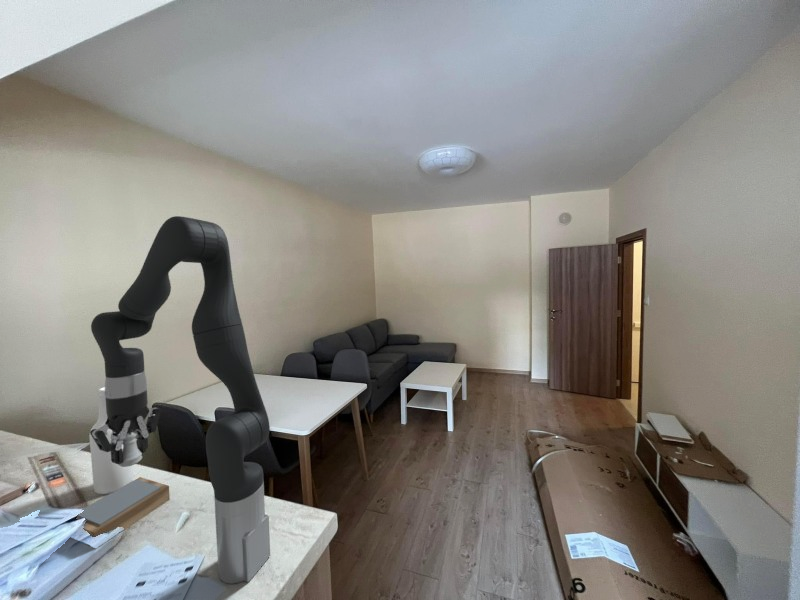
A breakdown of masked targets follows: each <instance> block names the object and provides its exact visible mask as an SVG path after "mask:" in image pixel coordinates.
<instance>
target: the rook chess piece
mask: <svg viewBox="0 0 800 600" xmlns="http://www.w3.org/2000/svg"><path fill="white" fill-rule="evenodd" d="M137 434H138V432H136V430H132V431H130V432H128V433H127V434H126V438H125V439H124V440H123V463H121V464H119V465H120V466H121V467H128V466H132V465H134V466H135V465H136V464H138V463H139V462H141V460H142V459H143V455H142V454H143V453H141V451H140V450H139V449H138V448H137V438H138V437H137Z"/></svg>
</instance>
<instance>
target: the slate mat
mask: <svg viewBox="0 0 800 600" xmlns="http://www.w3.org/2000/svg"><path fill="white" fill-rule="evenodd" d="M137 479H138V478H136V479H134V480H135V481H134V480H132V481H133V482H131V483H129V484H127V485H126V486H124V487H122V488H120V489H118V490H117V491H115V492H113V493H109V494H106V495H105V496H106V497H105V496H104V498H103V497H101V498H100V499H98V500H96V501H97V502H96V501H94V502H95V503H94V502H93V503H91V504H89V505H87V506H88V507H87V506H85V507H86V508H85V507H83V508H84V509H83V508H82V509H81V510H84V511H83V512H82V513H80V514H78V515H77V517H79V518H85V519H87V521H88V522H91V523H93V524H96V525H98V526H101V525H103V524H105V523H106V522H108V521H109V520H111V519H113V518H114V517H116V516H117V515H119V514H121V513H122V512H124V511H125V510H127V509H129V508H130V507H132V506H134V505H135V504H137V503H138V502H140V501H142V500H143V499H145V498H146V497H148V496H150V495H151V494H153V493H154V492H156V491H158V490H159V489H161V487H159V486H156V485H153V484H149V483H146V482H143V481H140V480H137Z"/></svg>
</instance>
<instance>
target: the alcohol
mask: <svg viewBox="0 0 800 600" xmlns="http://www.w3.org/2000/svg"><path fill="white" fill-rule="evenodd" d="M97 392H98V394H97V395H98V418H97V421H96V422H95V423H94V424H93V425H92V427H91V428H90V431H89V435H88V436H89V437H88V438H89V447H90V459H91V469H92V482H93V483H92V484H93V491H94V492H95V493H96V494H98V495H109V494H111V493H112V492H114V491H116V490H118V489H120V488H121V487H123V486H125V485H127V484H129V483H130V482H132V481H134V480H135V475H136V474H135V464H134V465H132V466H128V467H121V466H120V465H118V464H115V463H113V462H112V461H111V451H110V452H105V451H102V450H100V449H99V448H98V446H97V444H96V443H95V441H94V439H93V437H92V436H91V434H90V432H91V430H93V429H99V428H100V427H102V426H103V425H105V422H106V420H107V413H106V399H105V386H103V387H100V388H99V389H98V390H97ZM111 433H112V430H111V429H108V430H107V435H106V437H107V439H108V441H109V443H110V442H111ZM121 448H122V450H123V444H122V447H121Z"/></svg>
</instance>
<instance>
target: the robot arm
mask: <svg viewBox="0 0 800 600" xmlns="http://www.w3.org/2000/svg"><path fill="white" fill-rule="evenodd" d="M181 262H183V263H195V264H196V263H197V264H200V266H201V267H202V268H201V269H202V273H203V280H204V287H203V292H202V295H201V298H200V301H199V303H198V305H197V307H196V309H195V312H194V315H193V319H192V320H191V333H192V337H193V342H194V346H195V351H196V354H197V357H198V359H199V360H200V362H201V363H202V364H203V366H205V368H206V369H207V370H208V371H210V372H211V373H212V374H213V375H214V376H215V377H216V378H218V380H220V381H221V382H222V383H223V385H224V386H225V387H226V389H227V391H228V392H229V394H230V398H231V401H232V405H233V408H234V411H233V412H231V413H230V414H227V415H226V416H223V417H221V418H220V419H218V420H216V421H214V422H213V423H211V424H210V425H209V426H208V429H207V431H206V435H205V449H206V450H205V451H206V458H207V467H208V476H209V477H208V478H209V480H210V483H211V486H212V488H213V496H214V497H213V498H214V515H215V516H214V517H215V531H216V532H215V534H216V535H215V537H216V538H215V539H216V552H217V554H216V555H217V565H218V566H217V568H218V569H217V570H218V571H217V572H218V577H219V579H220V580H221V581H222V582H223V583H226V584H232V585H233V584H238V583H242V582H246V583H249V582H250V581H251V580H252V579H253V578H254V576H255V575H256V574H257V573H258V572H257V571H260V569H261V568H262V567H263V566H264V565H265V563H266V562H267V561H266V560H269V558H270V557H271V539H270V538H271V537H270V536H271V535H270V517H269V515H268V514H266V511H265V510H266V508H265V507H266V506H265V484H264V483H265V481H264V479H265V478H264V470H263V467H262V465H260V464H259V463H257V462H253V461H245V460H244V459H245V457H246V456H248V455H250V454H251V453H252V452H254V451H255V450H257V449H258V448H259V447H261V446H262V445H264V443H265V442H267V440H268V439H269V436H270V432H271V431H270V420H269V416H268V413H267V410H266V407H265V404H264V401H263V398H262V396H261V392H260V390H259V387H258V383H257V381H256V377H255V374H254V369H253V366H252V363H251V358H250V353H249V349H248V345H247V339H246V334H245V330H244V325H243V322H242V319H241V315H240V311H239V306H238V301H237V296H236V291H235V287H234V280H233V279H234V278H233V271H232V263H231V262H232V261H231V254H230V246H229V241H228V238H227V234H226V233H225V231H224V229H223V228H222V227H221V226H220V225H218V224H217V223H214V222H213V221H212V222H211V221H207V220H202V219H197V218H192V217H187V216H182V215H181V216H178V215H175V216H171V217H168V218H167V219H166V220H165V221H164V222H163V223H162V225H161V227H160V228H159V229H158V231H157V233H156V235H155V238H154V240H153V241H152V244H151V246H150V248H149V250H148V252H147V254H146V258H145V260H144V262H143V265H142V267H141V269H140V271H139V273H138V275H137V277H136V279H135V280H134V281H133V283H132V284H131V285H130V286H129V288H127V290H126V292H125V293H124V294H123V295H122V297H121V298H120V299H119V302H118V304H117V305H118V311H117V310H116V311H106V312H101V313H99V314H97V315H96V316H95V317H94V318H93V319H92V321H91V325H90V330H91V333H92V335H93V338H94V339H95V340H94V341H96V343H97V345H98V347H99V350H100V353H101V355H102V358H103V361H104V373H105V381H104V387H105V399H106V413H107V420H106V422H105V425H103V426H102V427H100V428H99V429H93V430H91V429H90V431H91V432H90V431H89V435H90V434H91V436H92V437H93V439H94V441H95V443H96V444H97V446H98V448H99V449H100V450H102V451H105V452H110V451H111V461H112V462H113V463H115V464H118V465H119V464H121V463H123V450H122V448H121V447H122V444H123V440H124V439H125V438H126V434H127V433H128V432H130V431H133V430H136V432H138V434H137V435H136V438H137V440H136V444H137V448H138V449H139V450H140V451H141V453H142V454H143V453H146V451H147V449H148V448H149V444H148V442H149V440H148V437H149V435H150V434H151V433H155V432H156V430H157V429H158V428H157V427H158V423H159V419H160V416H161V412H162V409H161V408H159V407H154V406H153V407H151V408H148V400H149V399H148V387H147V386H148V384H147V375H146V372H145V357H144V352H143V350H142V349H141V348H139V347H123V346H122V345H121V342H120V341H124V340H130V339H138V338H141V337H143V336H145V335H147V334H148V333H149V332H150V331H151V330H152V327H153V323H154V320H155V317H156V314H157V312H158V311H159V310H160V309H161V308H162V306H163V305H165V303H166V302H167V300H168V299H169V297H170V295H171V291H172V285H171V280H170V275H169V273H170V271H172V269H173V268H174V267H176V266H177V264H179V263H181ZM146 418H147V421H146ZM145 421H146V424H145ZM108 429H111V430H112V433H111V442H110V443H109V441H108V439H107V437H106V435H107V430H108ZM269 556H270V557H269ZM268 557H269V558H268ZM265 561H266V562H265ZM261 566H262V567H261Z"/></svg>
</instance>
